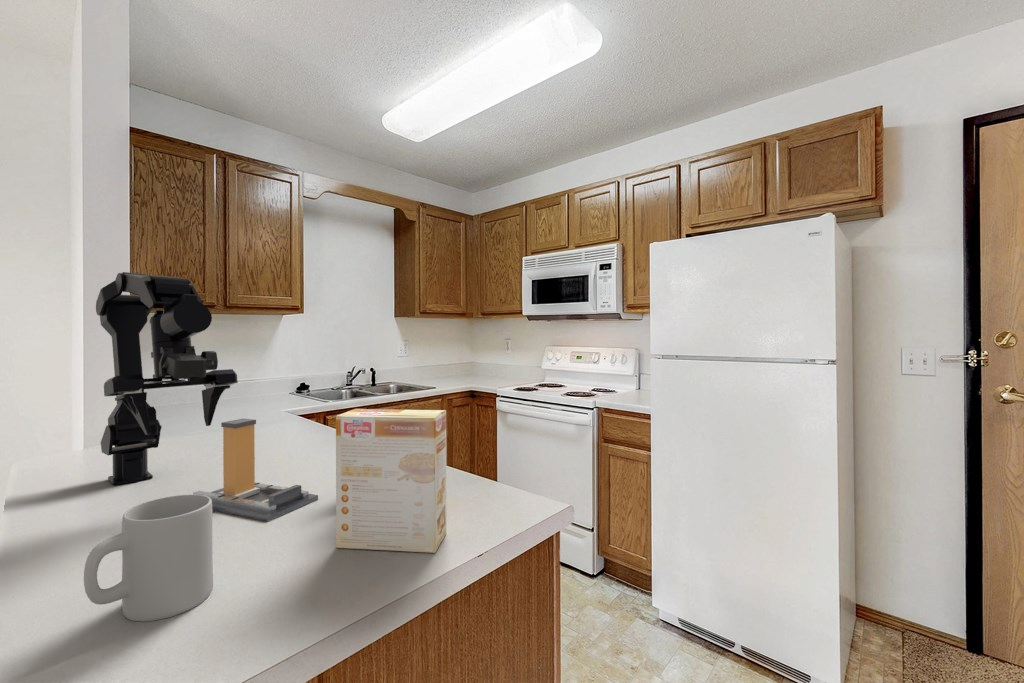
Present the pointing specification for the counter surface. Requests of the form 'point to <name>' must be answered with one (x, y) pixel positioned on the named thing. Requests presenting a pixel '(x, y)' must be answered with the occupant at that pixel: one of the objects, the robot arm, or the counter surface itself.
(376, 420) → the coffeecake box
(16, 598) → the counter surface
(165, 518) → the mug
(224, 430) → the fader tab
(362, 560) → the counter surface
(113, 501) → the counter surface
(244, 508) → the plate
